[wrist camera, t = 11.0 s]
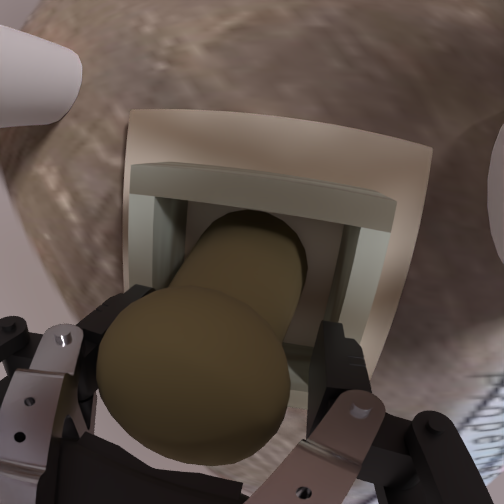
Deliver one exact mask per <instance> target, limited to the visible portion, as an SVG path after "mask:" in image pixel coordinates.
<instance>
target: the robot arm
mask: <svg viewBox="0 0 504 504" xmlns="http://www.w3.org/2000/svg"><path fill="white" fill-rule="evenodd" d="M154 291H156V290H155V289H154V288H152V287H147V286H143V285H139V284H135V285H133V286H132V287H131V288H130V289H128V290H127V291H126V292H125V293H124V294H123V293H121V294H118V295H115V296H113V297H110V298H109V299H108V300H106V301H105V302H104V303H103V304H102V305H100V306H99V307H98V308H96V310H94V311H93V312H91V313H90V314H89V315H88V316H86V317H85V318H84V319H83V320H81V321H80V322H79V323H78V324H77V325H72V324H59V325H56V326H53V327H51V328H49V329H48V330H46V331H45V333H44V334H37V333H30V332H28V328H27V324H26V321H25V320H24V319H23V318H21V317H18V316H9V317H4V318H2V319H0V362H3V365H4V368H5V370H6V373H7V375H8V376H6V377H5V378H3V379H2V380H1V381H0V504H341V503H342V502H343V500H344V498H345V497H346V495H347V493H348V492H349V490H350V488H351V487H352V485H353V483H354V481H355V479H356V478H357V479H360V480H363V481H367V482H370V483H374V487H375V491H376V494H377V498H378V503H379V504H494V503H493V501H492V499H491V497H490V494H489V492H488V490H487V488H486V486H485V484H484V482H483V480H482V477H481V475H480V473H479V471H478V469H477V467H476V465H475V463H474V461H473V459H472V457H471V456H470V454H469V452H468V450H467V448H466V446H465V444H464V442H463V440H462V438H461V437H460V435H459V433H458V431H457V429H456V427H455V426H454V424H453V422H452V421H451V420H450V419H449V418H448V417H447V416H445V415H443V414H441V413H439V412H436V411H423V412H420V413H418V414H417V415H416V416H415V417H414V419H413V421H410V420H406V419H403V418H399V417H396V416H393V415H390V414H388V413H386V409H385V406H384V404H383V402H382V401H381V400H380V399H379V398H378V397H377V396H375V395H374V394H372V390H371V386H370V381H369V376H368V372H367V368H366V363H365V359H364V355H363V350H362V347H361V346H360V345H359V344H358V343H357V341H356V340H355V339H352V338H345V335H344V329H343V324H342V323H337V322H330V321H324V320H322V321H321V323H320V326H319V330H318V334H317V337H316V341H315V345H314V349H313V352H312V356H311V360H310V366H309V382H308V411H307V432H306V440H304V439H302V440H301V441H300V442H299V443H298V444H297V445H296V446H295V448H294V449H293V450H292V451H291V452H290V454H289V455H288V456H287V457H286V458H285V459H284V461H283V462H282V463H281V464H280V465H279V466H278V467H277V469H276V470H275V471H274V472H273V473H272V474H271V475H270V476H269V477H268V479H267V480H266V481H265V482H264V483H263V484H262V485H261V486H260V487H259V488H258V489H257V490H256V491H255V492H254V493H253V494H252V495H251V497H249V496H246V495H244V494H242V493H241V489H242V485H243V483H241V482H236V481H232V480H227V479H222V478H218V477H214V476H209V475H205V474H202V473H191V472H180V471H169V470H160V469H155V468H152V467H150V466H148V465H146V464H145V463H144V462H142V461H140V460H139V459H137V458H136V457H134V456H133V455H131V454H130V453H128V452H127V451H125V450H124V449H123V448H121V447H120V446H118V445H115V444H113V443H111V442H108V441H106V440H104V439H102V438H99V437H97V436H95V435H94V425H95V415H96V405H97V395H96V390H97V389H98V385H97V380H96V363H97V357H98V351H99V345H100V342H101V340H102V338H103V336H104V334H105V333H106V331H107V329H108V328H109V326H110V325H111V324H112V322H113V321H114V320H115V318H116V317H117V316H118V314H119V313H120V312H121V311H122V310H124V309H125V308H126V307H127V306H128V305H130V304H131V303H132V302H134V301H136V300H138V299H140V298H142V297H144V296H146V295H148V294H150V293H152V292H154Z"/></svg>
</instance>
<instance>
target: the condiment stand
mask: <svg viewBox="0 0 504 504" xmlns="http://www.w3.org/2000/svg"><path fill="white" fill-rule="evenodd" d="M432 152H433V148H432V147H428V146H425V145H421V144H418V143H414V142H410V141H407V140H403V139H399V138H395V137H391V136H387V135H382V134H378V133H374V132H369V131H364V130H360V129H355V128H350V127H344V126H339V125H334V124H328V123H322V122H316V121H309V120H303V119H296V118H288V117H280V116H272V115H263V114H253V113H241V112H228V111H212V110H188V109H134V110H130V116H129V125H128V134H127V145H126V157H125V172H124V191H123V280H124V293H125V292H126V291H127V290H128V289H130V288H131V287H132V286H133V285H135V284H139V285H143V286H147V287H152V288H154V289H155V290H156V291H157V290H160V289H163V288H168V286H169V285H170V283H171V282H172V280H173V278H174V277H175V275H176V274H177V272H178V271H179V269H180V267H181V266H182V264H183V263H184V261H185V260H186V258H187V256H188V255H189V253H190V252H191V250H192V249H193V247H194V246H195V244H196V243H197V241H198V240H199V238H200V236H201V235H202V234H203V232H204V231H205V230H206V229H207V228H208V227H209V226H210V225H211V223H212V222H213V221H215V220H216V219H218V218H220V217H222V216H224V215H225V214H227V213H229V212H235V211H240V210H246V209H248V210H255V211H262V212H267V213H269V214H271V215H273V216H275V217H277V218H279V219H281V220H283V221H284V222H285V223H286V224H287V225H288V226H289V227H290V228H291V229H292V230H294V231H295V232H296V233H297V235H298V237H299V239H300V241H301V243H302V245H303V246H304V248H305V251H306V257H307V264H308V271H307V276H306V281H305V286H304V288H303V291H302V294H301V296H300V299H299V302H298V304H297V307H296V310H295V312H294V315H293V318H292V320H291V323H290V325H289V328H288V330H287V333H286V335H285V338H284V341H283V343H282V346H283V349H284V352H285V355H286V358H287V364H288V369H289V375H290V381H291V387H290V398H289V402H288V405H287V407H292V408H299V409H307V410H308V382H309V366H310V360H311V356H312V352H313V349H314V345H315V341H316V337H317V334H318V330H319V326H320V323H321V321H322V320H324V321H330V322H337V323H342V324H343V329H344V335H345V338H352V339H355V340H356V341H357V343H358V344H359V345H360V346H361V347H362V350H363V355H364V359H365V363H366V368H367V372H368V376H369V381H370V379H371V377H372V374H373V372H374V369H375V367H376V364H377V362H378V359H379V357H380V354H381V352H382V349H383V347H384V344H385V341H386V338H387V336H388V333H389V330H390V327H391V324H392V321H393V319H394V316H395V313H396V310H397V306H398V303H399V300H400V297H401V294H402V291H403V287H404V284H405V280H406V277H407V273H408V270H409V266H410V262H411V259H412V255H413V251H414V247H415V243H416V239H417V235H418V230H419V226H420V221H421V216H422V212H423V207H424V202H425V196H426V191H427V185H428V179H429V173H430V166H431V160H432Z"/></svg>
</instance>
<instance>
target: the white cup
mask: <svg viewBox="0 0 504 504" xmlns="http://www.w3.org/2000/svg"><path fill="white" fill-rule="evenodd" d="M81 82H82V64H81V61H80V59H79V56H78V55H77V54H76V53H75V52H73V51H72V50H71V49H68V48H66V47H63V46H60V45H58V44H55V43H53V42H50V41H47V40H45V39H42V38H39V37H36V36H33V35H31V34H28V33H25V32H22V31H19V30H16V29H13V28H9V27H6V26H3V25H0V128H4V127H16V126H29V125H48V124H51V123H54V122H56V121H59V120H60V119H61V118H62V117H63V116H64V115H65V114H66V113H67V112H68V111H69V110H70V108H71V106H72V105H73V103H74V101H75V100H76V98H77V95H78V92H79V89H80V86H81Z"/></svg>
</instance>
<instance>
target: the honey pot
mask: <svg viewBox="0 0 504 504" xmlns="http://www.w3.org/2000/svg"><path fill="white" fill-rule="evenodd" d="M487 209H488V216H489V223H490V231H491V235H492V238H493V241H494V244H495V247H496V250H497V254H498V256H499V258H500V259H501V261H502V263H503V264H504V124H503V125H502V127H501V128H500V130H499V133H498V136H497V139H496V142H495V145H494V147H493V150H492V154H491V161H490V167H489V173H488V178H487Z"/></svg>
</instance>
